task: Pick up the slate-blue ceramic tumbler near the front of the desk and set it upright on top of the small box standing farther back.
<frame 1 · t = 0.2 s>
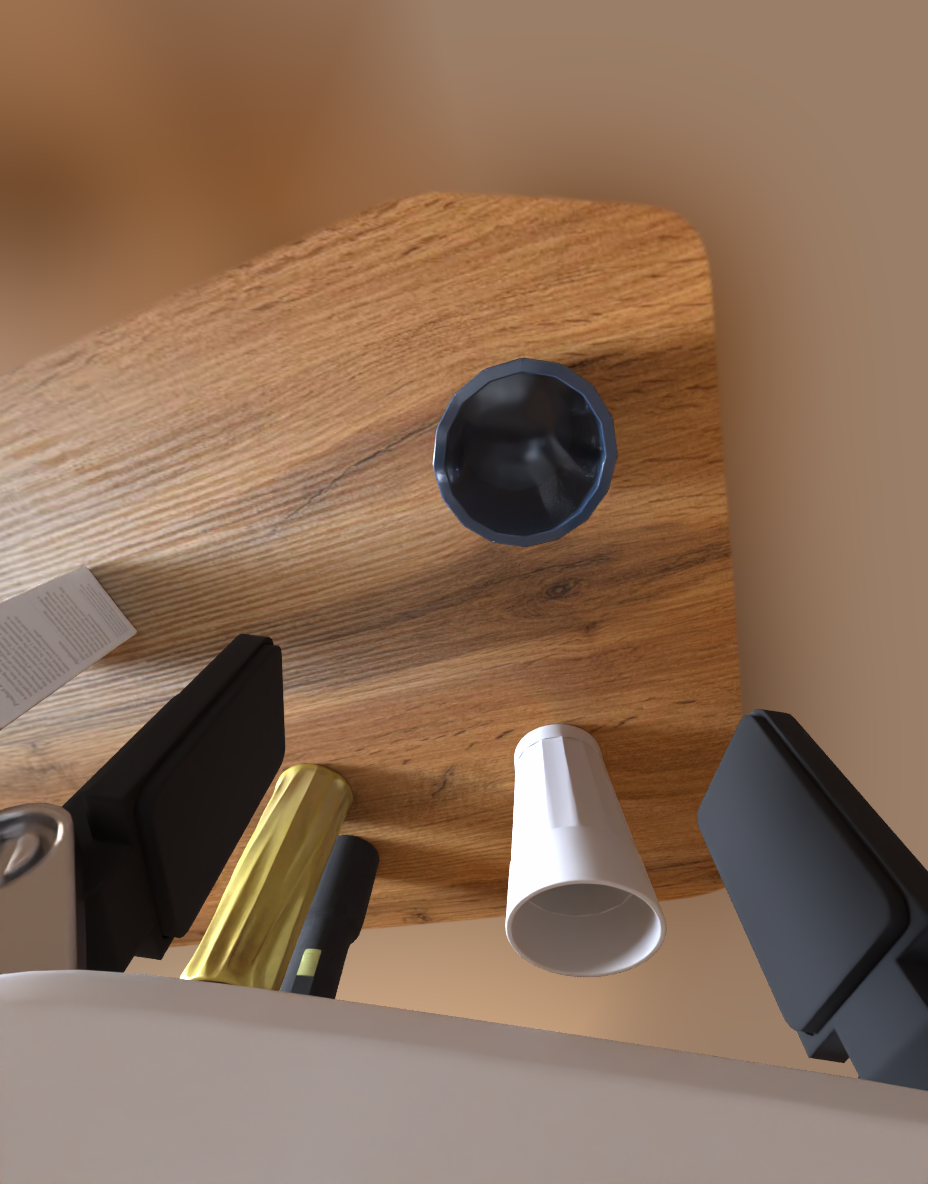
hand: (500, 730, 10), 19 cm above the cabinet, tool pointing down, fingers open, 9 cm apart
flashlight: (351, 853, 41), on the cabinet
cup: (557, 756, 35), on the cabinet
tumbler: (515, 434, 26), on the cabinet
small box: (73, 616, 33), on the cabinet
vase: (316, 789, 38), on the cabinet
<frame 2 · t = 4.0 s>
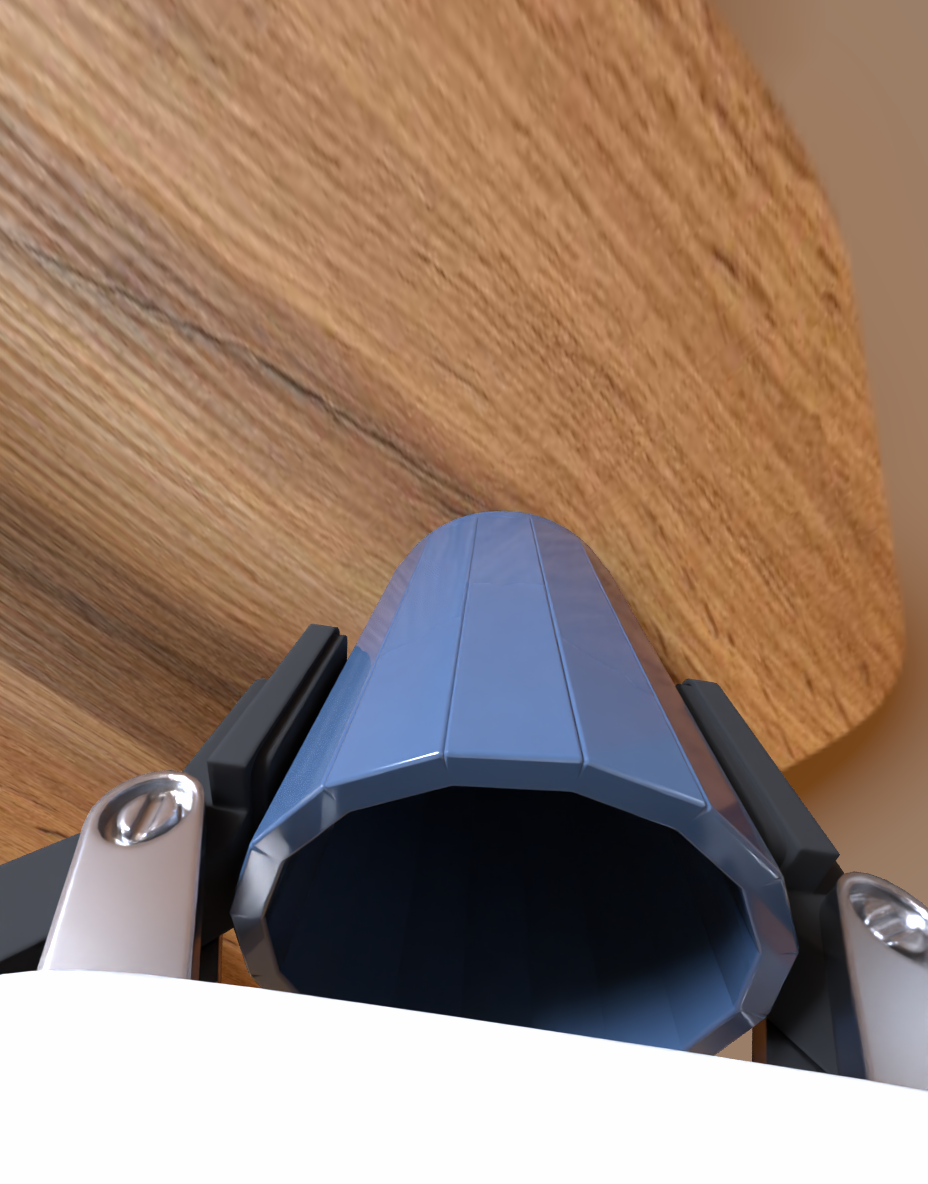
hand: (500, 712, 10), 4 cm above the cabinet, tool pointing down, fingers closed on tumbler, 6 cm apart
tumbler: (500, 621, 14), on the cabinet, touching gripper
when the fingers open (15 cm above the cabinet, at t = 10.9 s): tumbler stays where it is, resting on small box.
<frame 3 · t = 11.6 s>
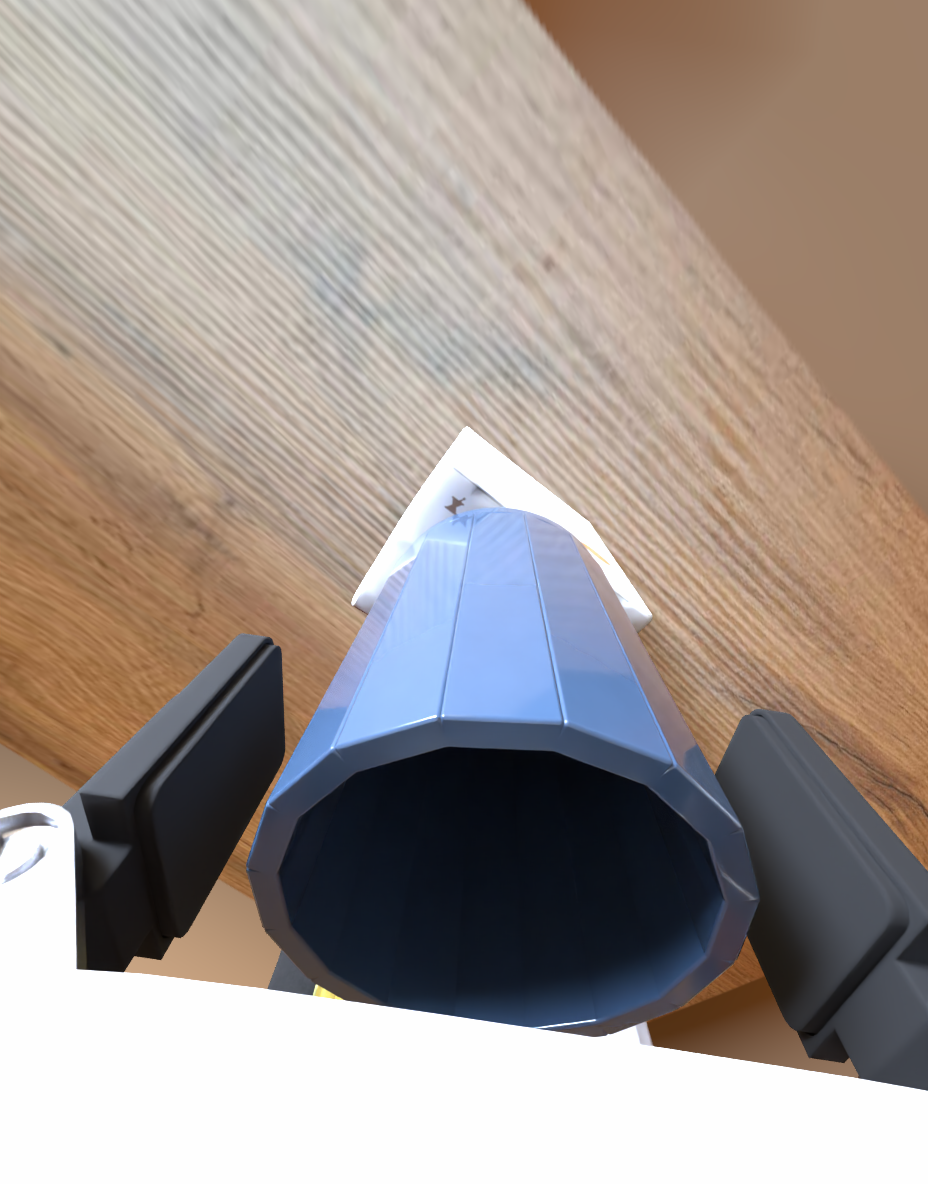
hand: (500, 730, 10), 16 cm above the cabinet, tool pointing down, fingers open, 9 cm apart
flashlight: (344, 853, 36), on the cabinet
cup: (583, 938, 38), on the cabinet
tumbler: (495, 613, 15), point 11 cm above the cabinet, touching small box
small box: (497, 517, 24), on the cabinet, touching tumbler
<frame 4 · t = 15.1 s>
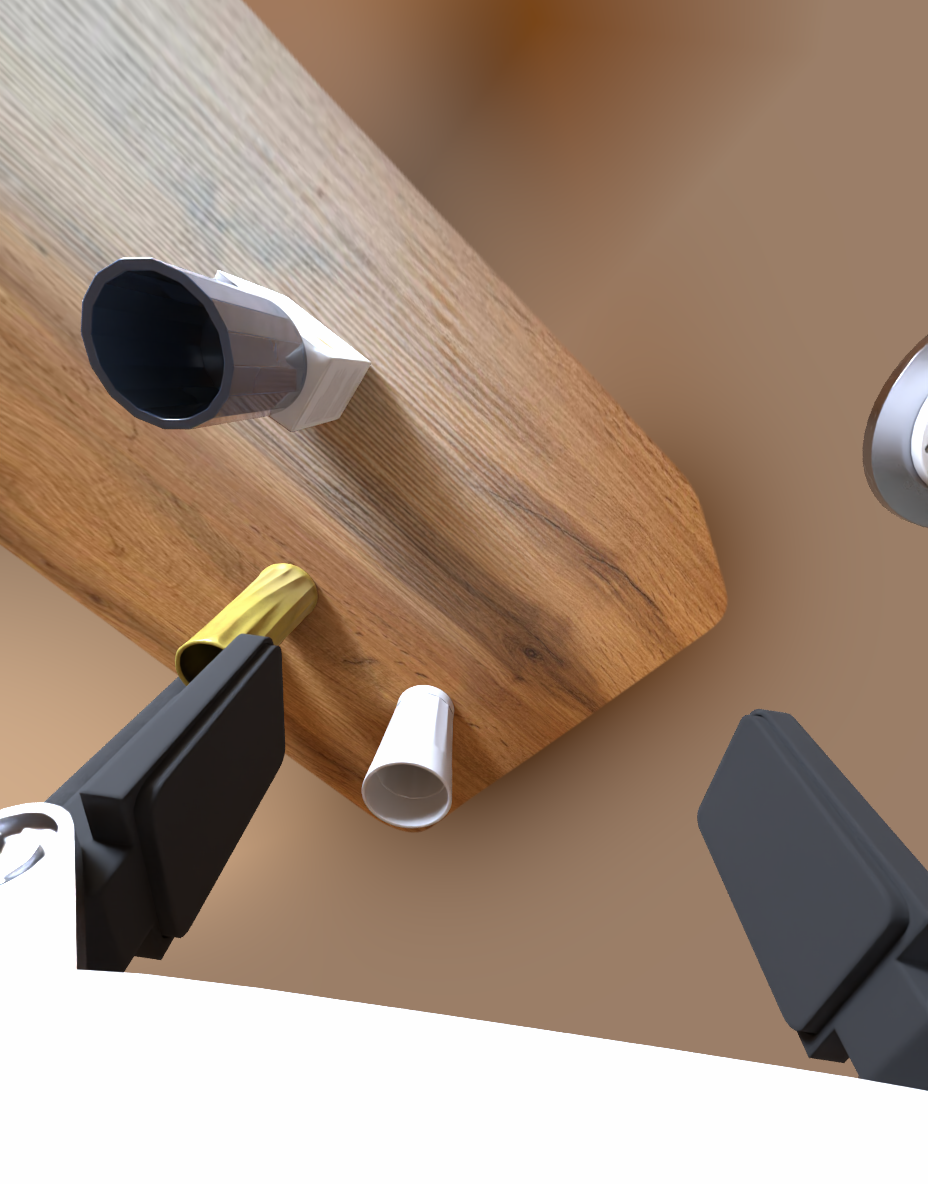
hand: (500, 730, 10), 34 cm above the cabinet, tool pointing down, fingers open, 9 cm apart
flashlight: (248, 635, 50), on the cabinet
cup: (425, 707, 53), on the cabinet
tumbler: (253, 356, 29), point 11 cm above the cabinet, touching small box
small box: (315, 361, 39), on the cabinet, touching tumbler
vase: (289, 590, 48), on the cabinet
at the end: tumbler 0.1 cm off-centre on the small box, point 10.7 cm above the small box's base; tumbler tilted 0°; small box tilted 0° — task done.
